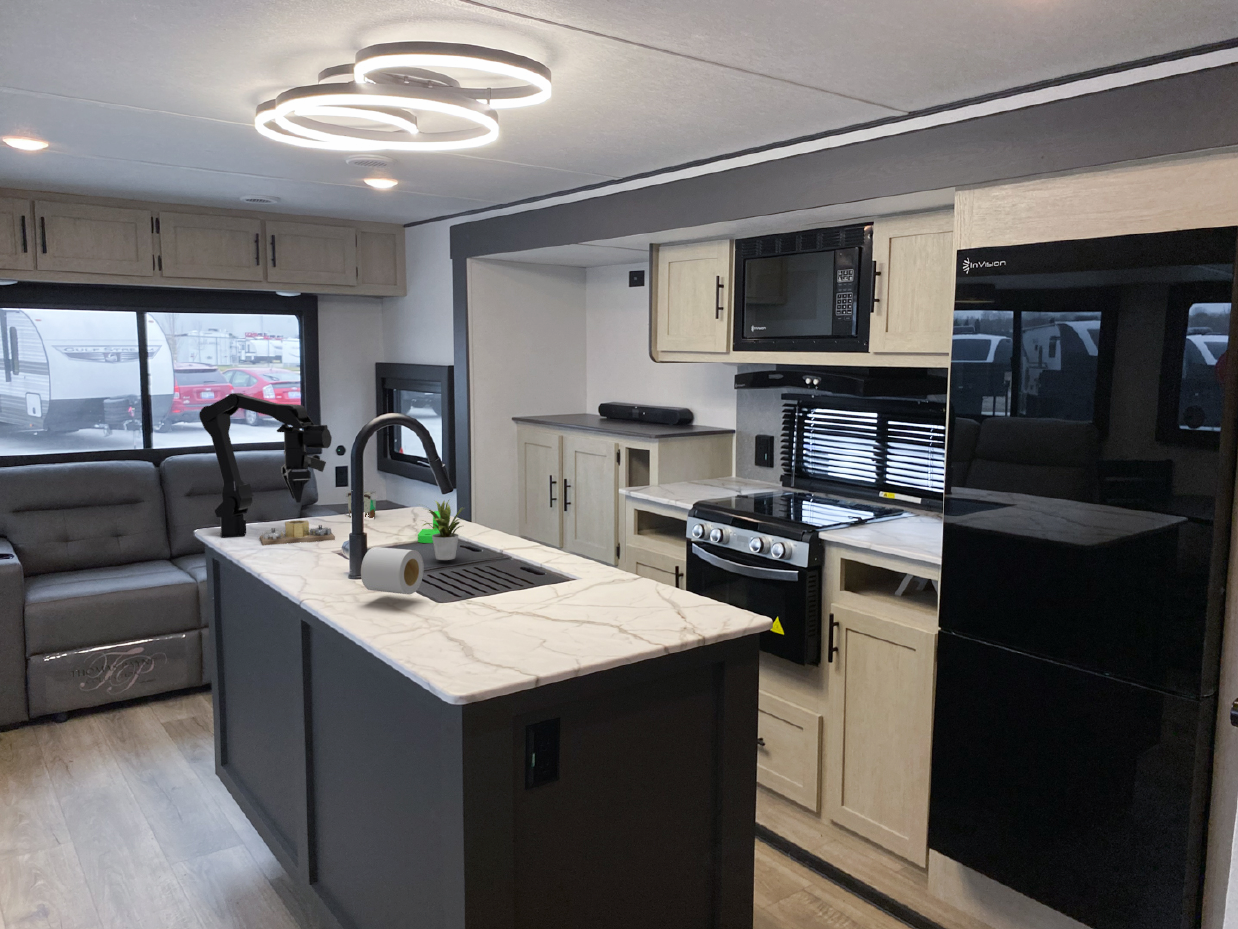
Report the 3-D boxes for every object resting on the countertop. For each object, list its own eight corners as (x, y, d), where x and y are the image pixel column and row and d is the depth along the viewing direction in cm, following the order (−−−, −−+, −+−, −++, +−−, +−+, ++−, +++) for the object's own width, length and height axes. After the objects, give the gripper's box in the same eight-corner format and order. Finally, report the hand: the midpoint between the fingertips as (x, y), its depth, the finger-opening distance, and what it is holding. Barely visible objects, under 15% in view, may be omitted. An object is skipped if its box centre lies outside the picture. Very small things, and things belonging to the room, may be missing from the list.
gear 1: (263, 540, 263) (263, 530, 262) (261, 536, 268) (261, 527, 268) (285, 538, 265) (285, 529, 265) (283, 535, 271) (283, 526, 270)
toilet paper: (423, 589, 212) (423, 546, 211) (399, 599, 202) (398, 554, 201) (386, 585, 215) (386, 543, 214) (361, 594, 206) (360, 551, 205)
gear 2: (311, 536, 269) (311, 527, 268) (308, 533, 274) (308, 524, 274) (332, 535, 271) (332, 526, 271) (329, 531, 277) (329, 523, 276)
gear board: (262, 545, 261) (262, 528, 260) (259, 539, 270) (259, 522, 269) (335, 540, 270) (334, 523, 269) (329, 534, 279) (329, 518, 278)
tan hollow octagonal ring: (287, 538, 265) (286, 524, 265) (284, 534, 271) (284, 521, 271) (310, 536, 268) (309, 523, 268) (307, 533, 274) (306, 519, 273)
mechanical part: (422, 535, 280) (422, 509, 279) (442, 535, 280) (441, 509, 279) (416, 542, 268) (415, 516, 267) (436, 542, 268) (436, 516, 268)
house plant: (406, 555, 248) (405, 496, 246) (452, 550, 256) (452, 492, 255) (429, 565, 237) (428, 503, 235) (476, 558, 245) (476, 498, 243)
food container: (386, 521, 303) (385, 491, 302) (372, 524, 298) (371, 493, 297) (360, 518, 310) (360, 489, 309) (346, 520, 305) (345, 490, 304)
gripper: (328, 449, 262) (329, 503, 264) (318, 444, 279) (320, 495, 280) (287, 450, 257) (289, 505, 259) (280, 445, 274) (281, 497, 275)
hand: (296, 500), depth 268 cm, fingers open, 9 cm apart
